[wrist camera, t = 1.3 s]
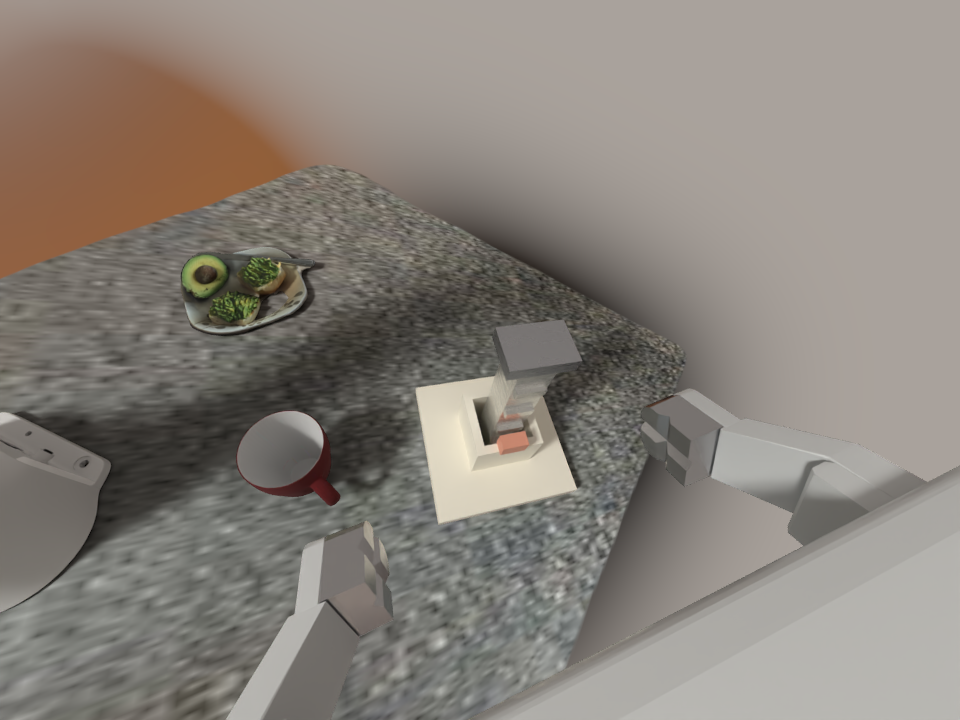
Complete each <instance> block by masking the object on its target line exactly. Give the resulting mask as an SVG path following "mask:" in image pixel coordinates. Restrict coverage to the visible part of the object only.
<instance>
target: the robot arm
mask: <svg viewBox="0 0 960 720" xmlns="http://www.w3.org/2000/svg"><path fill="white" fill-rule="evenodd" d="M641 418H642V419H643V420H644V421H645V422H644V424H643V425H642V427H641V439H642V442H643V444H644V446H645V448H646V449H647V451H648V452H649V453H650V454H651V455H652V456H653V457H654V458H655V459H658V460H661V461H664V462H665V464H666V470H667V471H668V472H669V473H671V475H672V476H673V477H674V478H676V479H677V480H678V481H679V482H680V483H681V484H682V485H683V486H684V487H685V486H688V485H690V484H692V483H695V482H697V481H700V480H702V479H704V478H707V477H709V476H711V478H713V479H716V480H718V481H720V482H722V483H725V484H727V485H729V486H732V487H734V488H737V489H739V490H741V491H743V492H746V493H748V494H750V495H753V496H755V497H757V498H760V499H762V500H764V501H767V502H769V503H771V504H774V505H776V506H778V507H780V508H783V509H785V510H787V511H789V512H792V513H793V515H792V518H791V520H790V522H789V525H788V533H789V534H790V535H792V536H793V537H794V538H795V539H796V540H797V541H799V542H800V543H801V544H802V545H803V547H801V548H799V549H797V550H795V551H793V552H791V553H789V554H788V555H785V556H784V557H782V558H780V559H778V560H776V561H774V562H772V563H770V564H768V565H766V566H764V567H762V568H760V569H758V570H756V571H755V572H753V573H751V574H749V575H747V576H745V577H743V578H741V579H739V580H737V581H735V582H733V583H731V584H729V585H728V586H726V587H724V588H722V589H720V590H718V591H716V592H714V593H712V594H710V595H708V596H706V597H704V598H702V599H700V600H698V601H697V602H694V603H692V604H691V605H689V606H687V607H685V608H683V609H681V610H679V611H677V612H675V613H673V614H671V615H669V616H667V617H665V618H663V619H661V620H660V621H658V622H656V623H654V624H652V625H650V626H648V627H646V628H644V629H642V630H640V631H638V632H637V633H634V634H632V635H630V636H629V637H627V638H625V639H623V640H621V641H619V642H617V643H615V644H613V645H611V646H609V647H607V648H605V649H603V650H601V651H600V652H598V653H596V654H594V655H592V656H590V657H588V658H586V659H584V660H582V661H580V662H578V663H576V664H574V665H572V666H571V667H568V668H567V669H565V670H563V671H561V672H559V673H557V674H555V675H553V676H551V677H549V678H547V679H545V680H543V681H541V682H539V683H538V684H536V685H534V686H532V687H530V688H528V689H526V690H524V691H522V692H520V693H518V694H516V695H514V696H512V697H510V698H508V699H507V700H505V701H503V702H501V703H499V704H497V705H495V706H493V707H491V708H489V709H487V710H485V711H483V712H481V713H479V714H477V715H476V716H474V717H472V718H470V719H468V720H960V466H958V467H956V468H954V469H952V470H950V471H949V472H946V473H944V474H943V475H941V476H939V477H937V478H935V479H933V480H931V481H929V482H926V481H924V480H923V479H921V478H919V477H917V476H915V475H914V474H912V473H910V472H908V471H906V470H905V469H903V468H901V467H899V466H897V465H896V464H894V463H892V462H890V461H888V460H887V459H885V458H883V457H881V456H879V455H877V454H876V453H874V452H872V451H870V450H869V449H867V448H865V447H863V446H861V445H860V444H856V443H852V442H847V441H843V440H839V439H834V438H830V437H826V436H821V435H817V434H813V433H808V432H804V431H800V430H795V429H791V428H787V427H782V426H778V425H774V424H769V423H765V422H760V421H756V420H752V419H748V418H745V419H742V420H741V419H739V418H737V417H736V416H734V415H733V414H731V413H730V412H728V411H727V410H725V409H724V408H722V407H721V406H719V405H717V404H716V403H714V402H713V401H711V400H710V399H708V398H707V397H705V396H704V395H702V394H700V393H699V392H698V391H696V390H694V389H691V388H688V389H686V390H684V391H681V392H678V393H676V394H674V395H670V396H668V397H666V398H663V399H661V400H659V401H656V402H654V403H652V404H649V405H647V406H645V407H643V409H642V410H641ZM88 462H89V464H88V465H87V466H86V467H84V466H85V464H87V463H88ZM110 468H111V463H110V462H109V461H108V460H107V459H105V458H103V457H101V456H99V455H97V454H95V453H93V452H91V451H89V450H87V449H85V448H83V447H81V446H79V445H77V444H75V443H73V442H71V441H69V440H67V439H65V438H63V437H61V436H59V435H57V434H55V433H53V432H51V431H49V430H46V429H44V428H42V427H40V426H38V425H36V424H34V423H32V422H30V421H28V420H26V419H24V418H22V417H20V416H18V415H15V414H12V413H8V412H2V413H0V612H2V611H5V610H7V609H9V608H11V607H13V606H15V605H17V604H18V603H20V602H22V601H24V600H25V599H27V598H29V597H30V596H32V595H33V594H35V593H36V592H37V591H39V590H40V589H42V588H43V587H44V586H45V585H47V584H48V583H49V582H50V581H51V580H53V579H54V578H55V577H56V576H57V575H58V574H59V573H60V572H61V571H62V570H63V569H64V568H65V567H66V566H67V565H68V564H69V563H70V562H71V560H72V559H73V558H74V557H75V555H76V554H77V553H78V551H79V550H80V549H81V547H82V546H83V544H84V542H85V541H86V539H87V537H88V535H89V533H90V531H91V529H92V527H93V524H94V521H95V517H96V513H97V505H98V496H99V491H100V489H101V487H102V485H103V483H104V481H105V480H106V478H107V476H108V474H109V471H110ZM388 576H389V565H388V560H387V555H386V551H385V549H384V546H383V544H382V542H381V541H380V539H379V538H377V537H373V528H372V527H371V525H370V524H369V522H368V521H365V522H362V523H360V524H357V525H354V526H352V527H349V528H346V529H344V530H341V531H339V532H336V533H333V534H331V535H328V536H326V537H323V538H321V539H318V540H316V541H313V542H311V543H308V544H306V546H305V548H304V550H303V554H302V562H301V570H300V577H299V585H298V593H297V601H296V608H295V614H294V615H292V616H290V617H288V619H287V620H286V622H285V623H284V625H283V627H282V628H281V630H280V632H279V633H278V635H277V637H276V638H275V640H274V642H273V643H272V645H271V646H270V648H269V650H268V651H267V653H266V655H265V656H264V658H263V660H262V661H261V663H260V665H259V666H258V668H257V669H256V671H255V673H254V674H253V676H252V678H251V679H250V681H249V683H248V684H247V686H246V688H245V689H244V691H243V692H242V694H241V696H240V697H239V699H238V701H237V702H236V704H235V706H234V707H233V709H232V711H231V712H230V714H229V715H228V717H227V719H226V720H330V719H331V717H332V714H333V711H334V709H335V706H336V703H337V700H338V698H339V695H340V692H341V689H342V687H343V684H344V681H345V679H346V676H347V673H348V670H349V668H350V665H351V662H352V660H353V657H354V654H355V651H356V649H357V646H358V643H359V641H360V637H359V636H361V635H363V634H365V633H367V632H369V631H371V630H373V629H375V628H377V627H379V626H382V625H384V624H386V623H388V622H390V621H392V620H394V619H393V607H392V596H391V591H390V589H389V588H388V586H387V585H386V581H387V579H388Z"/></svg>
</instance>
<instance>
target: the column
mask: <svg viewBox="0 0 960 720" xmlns="http://www.w3.org/2000/svg"><path fill="white" fill-rule="evenodd" d="M492 338H493V341H494V345H495V348H496V351H497V354H498V357H499V360H500V364H499V367H498V370H497V372H496V375H495V377H494V380H493V383H492V386H491V389H490V392H489V394H488V397H487V400H486V403H485V405H484V408H483V411H482V413H481V416H480V419H479V422H478V423H479V427H480V431H481V435H482V438H483V442H484V446H487V445H492V444H497V440H498V438H499V436H501V435H506V434H511V433H516V432H519V430H522V429H523V427H524V426H523V424H524V423H525V421H526V420H527V418H528V417H529V415H530V414H532V413H533V412H534V407H535V406H536V404H537V403H538V401H539V399H540V398H541V396H542V395H545V394H546V392H547V387H548V386H549V384H550V382H551V381H552V379H553V378H554V376H555V375H556V373H561V372H567V371H574V370H576V369H577V368H578V366H579V365H580V364H581V362H582V359H581V357H580V355H579V352H578V350H577V348H576V346H575V344H574V341H573V339H572V337H571V335H570V332H569V330H568V328H567V326H566V324H565V321H564V320H555V321H546V322H537V323H528V324H519V325H511V326H502V327H495V330H494V333H493V337H492Z"/></svg>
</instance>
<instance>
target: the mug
mask: <svg viewBox="0 0 960 720" xmlns="http://www.w3.org/2000/svg"><path fill="white" fill-rule="evenodd" d="M236 463H237V467H238V470H239V472H240V474H241V476H242V477H243V478H244V479H245V480H246V481H247V482H248V483H250V484H251V485H252V486H254V487H255V488H257V489H259V490H260V491H263V492H265V493H268V494H272V495H278V496H288V497H299V496H304V495H307V494H309V493H312V492H314V491H315V492H316V493H317V494H318V495H319V496H320V497H321V498H322V499H323V500H324V501H325V502H326V503H327V504H328V505H330V506H333V505H335V504H336V503H337V502H338V501H339V499H340V494H339V493H338V492H337V491H336V490H335V488H334V487H333V486H332V485H331V484H330V483H329V482H328V481H327V480H326V479H327V477H328V474H329V472H330V468H331V454H330V444H329V440H328V438H327V435H326V433H325V432H324V430H323V428H322V427H321V426H320V424H319V423H318V422H317V421H316V420H315V419H314V418H313V417H311V416H310V415H308V414H306V413H303V412H300V411H292V410H290V411H280V412H276V413H273V414H270V415H268V416H266V417H264V418H262V419H261V420H259V421H258V422H256V423H255V424H254V425H253V426H252V427H251V428H250V429H249V430H248V431H247V432H246V433H245V435H244V436H243V438H242V439H241V441H240V443H239V446H238V449H237V454H236Z"/></svg>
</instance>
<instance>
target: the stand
mask: <svg viewBox="0 0 960 720" xmlns="http://www.w3.org/2000/svg"><path fill="white" fill-rule="evenodd" d="M494 377H495V376H493V377H486V378H479V379H473V380H466V381H459V382H452V383H446V384H439V385H432V386H425V387H419V388H416V397H417V402H418V408H419V414H420V420H421V426H422V432H423V437H424V443H425V449H426V455H427V461H428V466H429V472H430V478H431V484H432V490H433V496H434V501H435V507H436V513H437V519H438V525H441V524H445V523H449V522H453V521H457V520H461V519H466V518H470V517H474V516H478V515H482V514H486V513H490V512H494V511H498V510H502V509H506V508H510V507H514V506H518V505H522V504H526V503H530V502H535V501H539V500H543V499H547V498H551V497H555V496H559V495H563V494H567V493H571V492H574V491H575V490H577V488H576V485H575V482H574V480H573V477H572V474H571V471H570V469H569V466H568V463H567V460H566V458H565V455H564V452H563V450H562V447H561V444H560V441H559V439H558V436H557V433H556V430H555V428H554V425H553V422H552V420H551V417H550V414H549V411H548V409H547V406H546V403H545V400H544V398H543V395H542V396H541V398H540V399H539V401H538V403H537V404H536V406H535V407H534V412H533V413H532V414H530V415H529V417H528V418H527V420H526V421H525V423H524V424H523V426H524V427H523V429H522V430H519V432H516V433H511V434H506V435H501V436H499V438H498V440H497V444H492V445H487V446H484V442H483V438H482V435H481V431H480V427H479V423H478V422H479V419H480V416H481V413H482V411H483V408H484V405H485V403H486V400H487V397H488V394H489V392H490V389H491V386H492V383H493V380H494Z"/></svg>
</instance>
